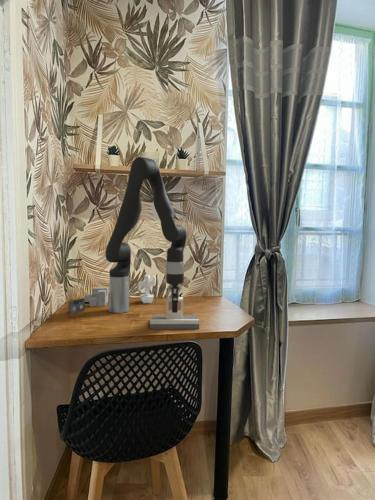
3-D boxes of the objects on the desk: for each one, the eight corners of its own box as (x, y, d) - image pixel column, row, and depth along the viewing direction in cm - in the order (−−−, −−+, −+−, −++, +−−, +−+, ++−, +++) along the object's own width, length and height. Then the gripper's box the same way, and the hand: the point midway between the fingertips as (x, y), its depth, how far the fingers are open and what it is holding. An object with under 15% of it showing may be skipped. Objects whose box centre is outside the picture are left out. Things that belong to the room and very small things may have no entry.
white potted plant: (138, 300, 172) (138, 274, 171) (155, 300, 173) (155, 273, 172) (138, 304, 165) (138, 276, 164) (156, 303, 166) (156, 275, 165)
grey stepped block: (85, 301, 170) (85, 287, 170) (108, 300, 172) (108, 286, 171) (81, 307, 158) (81, 291, 158) (105, 306, 160) (105, 291, 159)
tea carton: (183, 320, 131) (183, 299, 130) (166, 320, 130) (166, 299, 130) (182, 317, 135) (182, 296, 135) (166, 317, 135) (166, 296, 134)
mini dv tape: (82, 310, 153) (82, 298, 152) (84, 310, 152) (84, 298, 151) (68, 313, 146) (68, 301, 145) (70, 314, 145) (70, 301, 144)
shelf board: (150, 328, 126) (150, 320, 125) (152, 319, 137) (152, 311, 137) (199, 328, 126) (199, 320, 126) (197, 319, 138) (197, 311, 138)
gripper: (184, 274, 124) (184, 314, 126) (183, 269, 138) (183, 305, 140) (165, 274, 124) (165, 314, 125) (166, 269, 138) (166, 305, 139)
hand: (174, 309), depth 132 cm, fingers open, 8 cm apart
